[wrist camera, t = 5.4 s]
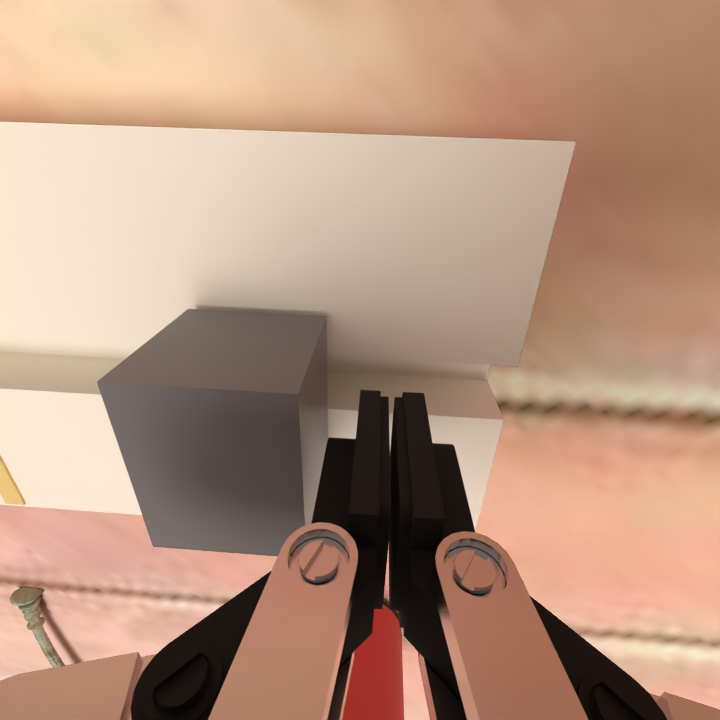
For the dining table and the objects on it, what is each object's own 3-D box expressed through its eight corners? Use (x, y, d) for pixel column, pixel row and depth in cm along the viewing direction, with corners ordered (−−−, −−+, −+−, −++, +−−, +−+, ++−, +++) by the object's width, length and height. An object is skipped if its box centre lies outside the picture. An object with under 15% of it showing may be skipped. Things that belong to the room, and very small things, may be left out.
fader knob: (336, 288, 13) (297, 393, 7) (336, 409, 16) (306, 558, 10) (220, 282, 13) (96, 381, 8) (238, 402, 16) (153, 546, 10)
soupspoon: (96, 708, 37) (164, 711, 37) (73, 757, 34) (147, 760, 34) (-12, 577, 26) (85, 580, 26) (-59, 633, 23) (50, 636, 23)
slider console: (527, 143, 12) (577, 141, 9) (458, 475, 19) (473, 541, 16) (-256, 116, 13) (-461, 105, 10) (-57, 440, 20) (-141, 495, 17)
